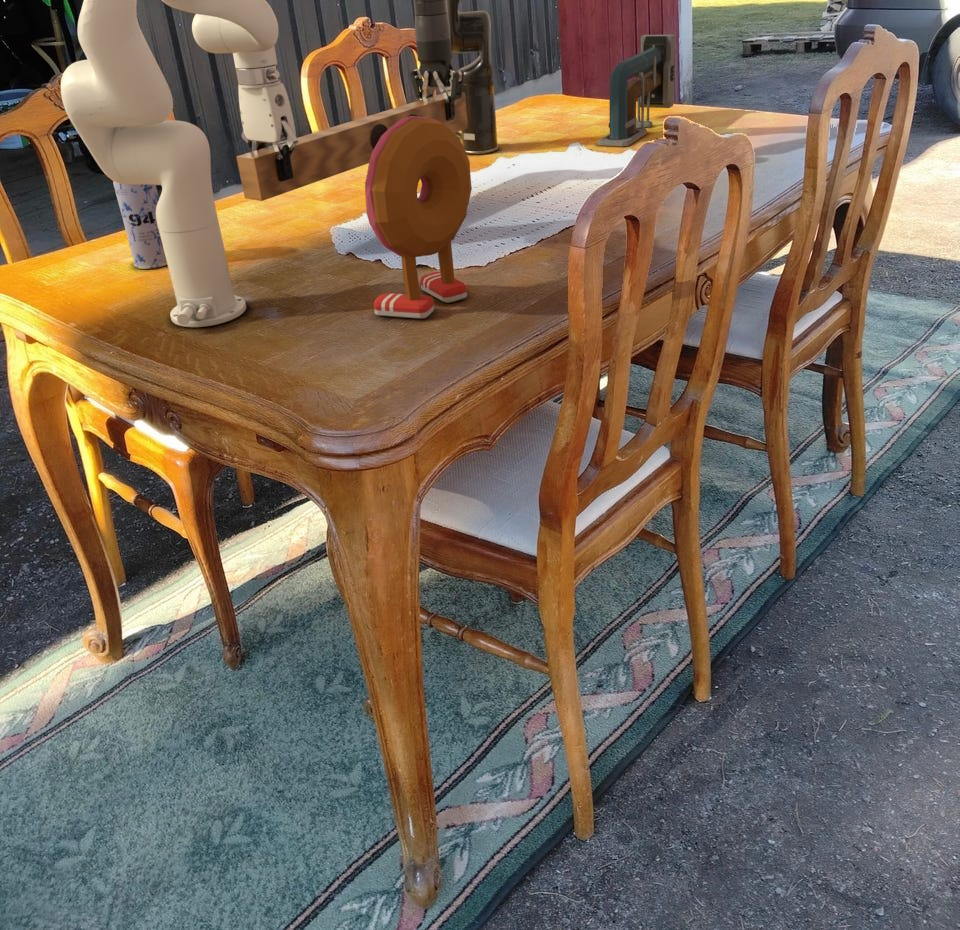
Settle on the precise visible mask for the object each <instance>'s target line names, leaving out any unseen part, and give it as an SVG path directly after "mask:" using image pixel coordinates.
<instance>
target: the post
mask: <svg viewBox="0 0 960 930" xmlns="http://www.w3.org/2000/svg"><path fill="white" fill-rule="evenodd" d="M447 93H448V92H447ZM454 104H455V117H454V119H453V120H450V121H447V120H446V115H445V101H444V98H443V95H442V93H439V94H435V95H433V96H432V97H429V98H426V99H423V100H422V99H419V100H416V101H413V102H410V103H407V104H404V105H403V104H402V105H401V106H397V107H396V106H395V107H393V108H390V109H387V110H384V111H381V112H378V113H375V114H371V115H367V116H365V117H361V118H357V119H354V120H351V121H348V122H345V123H342V124H341V123H340V124H337V125H335V126H331V127H329V128H325V129H322V130H318V131H315V132H311V133H308V134H305V135H303V136H302V135H301V136H299V137H298V136H297V139H298V143H297V144H296V146H295V147H294V150H293V151H292V156H291V157H290V159H291V165H292V171H293V178H292V179H289V180H286V181H279V178H278V172H277V166H276V160H277V159H278V158H277V156H276V153H275V150H274V147H273V144H272V145H269V146H267V147H266V148H263V149H259V150H256V151H253V152H252V151H249V152H246V153H243V154H240V155H237V156H236V162H237V167H238V171H239V176H240V180H241V187H242V190H243V191H242V192H243V196H244V199H247V200H254V201H258V202H259V201H260V202H263V201H266V200H269V199H272V198H275V197H277V196H280V195H284V194H286V193H289V192H292V191H295V190H298V189H300V188H303V187H306V186H308V185H311V184H314V183H317V182H321V181H323V180H326V179H328V178H331V177H334V176H337V175H339V174H342V173H346V172H348V171H351V170H354V169H357V168H360V167H362V166H365V165H367V164H368V165H369V162H370V158H371V154H372V151H373V148H372V146H371V144H370V133H371V130H372V129H373V127H374V126H376V125H377V124H383V125H385V126H386V127H387V128H388V129H389V128H390V127H392V126H393V125H394V124H396V123H397V122H398V121H400V120H401V119H403V118H405V117H407V116H409V115H410V114H416V115H417V116H418V117H426V118H433V119H434V120H438V121H439V122H441V123H442V124H444V125H445V126H446V127H447V128H448V129H450V130H451V131H452V132H453V133H456V132H459V133H460V132H461V130H464V129H467V128H468V123H467V111H466V98H465V92H462V97H461V98H460V99H457V100H455V102H454ZM280 148H281V149H282V148H283V145H282V144H280Z"/></svg>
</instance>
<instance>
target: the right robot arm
mask: <svg viewBox="0 0 960 930" xmlns="http://www.w3.org/2000/svg"><path fill="white" fill-rule="evenodd" d="M412 1H413V11H414V34H415V35H414V36H415V43H416V45H415V46H416V54H417V61H418V62H419V68H416V69H413V70H410V71H409V76H410V77H409V78H410V80H411V84H412V88H413V91H414V94H415V98H416V99H419V100H423V99H426V98H429V97H432V96H435V95H434V94H435V91H436V89H438V91H439V94H442V95H443V98H444V101H445V115H446V120H447V121H450V120H453V119H454V117H455V104H454V102H455V100H457V99H460V98H461V97H462V92H465V98H466V111H467V123H468V128H467V129H464V130H461V131H459V132H456V133H454V134H455V135H457V136H458V137H459V138H460V139H461V143H462V145H463V147H464V150H465V152H466V154H467V155H483V154H490V153H493V152H496V151H498V149H499V145H498V132H497V114H496V99H495V98H496V97H495V85H494V84H495V83H494V70H493V58H492V57H493V56H492V54H493V53H492V52H493V51H492V23H491V22H492V21H491V17H490V14H489V13H488V12H487V11H486V10H475V11H473V10H472V11H463V12H462V11H461V12H460V11H459V8H460V2H461V0H412ZM469 53H478V56H477V57H476V59H475V60H474V61H472V62H471V63H470V64H467V65H465V66H463V67H460V68H459V69H458V70H457V69H454V67H453V65H452V58H453V54H469ZM447 92H448V93H447Z"/></svg>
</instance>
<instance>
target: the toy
mask: <svg viewBox="0 0 960 930" xmlns="http://www.w3.org/2000/svg"><path fill="white" fill-rule="evenodd" d="M370 144H371V146H372V148H373V151H372V154H371V158H370V162H369V163H368V167H367V171H366V172H367V173H366V178H365V182H364V195H365V208H366V209H365V210H366V211H365V212H366V216H367V219H368V223H369V225H370V227H371V229H372V231H373V233H374V235H375V237H376V239H377V240H378V241H379V243H380V244H381V245H382V246H383V247H385V248H386V249H387V250H388V251H391V252H392V253H394V254H396V255H397V256H399V257H401V269H402V277H403V282H404V290H405V293H387V292H386V293H382V294H380V295H379V296H378V297H377V298H375V300H374V302H373V310H374V314H375V315H376V316H380V317H393V318H404V319H405V318H407V319H409V318H410V319H426V318H428V317H429V316H430V315H431V314H432V313H433V312H434V311H435V303H434V298H433V297H435V298H436V299H437V300H439V301H441V302H443V303H446V304H448V303H449V304H450V303H454V302H457V301H461V300H464V299H466V298H467V297H468V291H467V285H466V283H465V282H463V281H461V280H459V279H457V278H455V270H454V260H453V247H452V241H454V239H455V237H456V236H457V235H458V232H459V231H460V228H461V227H462V225H463V223H464V221H465V220H466V218H467V214H468V210H469V209H468V208H469V204H470V199H471V195H472V189H473V188H472V177H471V176H472V174H471V163H470V160H469V157H468V154H466V152H465V150H464V147H463V145H462V139H461V137H460V136H459V135H457V134H454V133H453V132H452V131H451V130H450V129H448V128H447V127H446V126H445V125H444V124H442V123H441V122H439V121H438V120H434V119H433V118H426V117H418V116H417V115H416V114H410V115H409V116H407V117H405V118H403V119H401V120H400V121H398V122H397V123H396V124H394V125H393V126H392V127H390V128H389V129H388V128H387V127H386V126H385V125H383V124H377V125H376V126H374V127H373V129H372V130H371V133H370ZM419 182H421V186H420V192H419V196H418V188H419ZM435 254H437V257H438V264H439V271H434V272H430V273H426V274H423V275H422V276H421V277H420V282H419V276H418V269H417V268H418V267H417V258H421V257H427V256H428V257H429V256H433V255H435ZM419 283H420V285H419ZM420 289H421V290H422V291H424V292H426V293H427V294H428V295H421V294H420V292H421V291H420ZM430 295H431V296H430Z"/></svg>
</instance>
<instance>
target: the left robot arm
mask: <svg viewBox="0 0 960 930" xmlns="http://www.w3.org/2000/svg"><path fill="white" fill-rule="evenodd" d="M161 2H162V3H164V4H165V5H167V6H168V7H170V8H172V9H176V10H179V11H183V12H186V13H190V14H194V17H193V19H192V23H191V32H192V36H193V38H194V41H195V43H196V44H197V45H198V46H199V48H201V49H202V50H203V51H205V52H208V53H210V54H219V55H220V54H232V57H233V62H234V68H235V73H236V78H237V79H236V80H237V84H238V103H239V104H238V105H239V112H240V120H241V126H242V132H241V139H242V140H243V141H245V143H246V144H247V146H248V148H249V149H250V151H251V152H253V151H256V150H259V149H263V148H266V147H268V144H272V145H273V147H274V150H275V153H276V156H277V158H278V159H277V160H276V166H277V172H278V178H279V181H286V180H289V179H292V178H293V171H292V165H291V159H290V157H291V156H292V151H293V150H294V147H295V146H296V144H297V143H298V139H297V138H298V136H297V131H296V125H295V120H294V115H293V110H292V106H291V102H290V100H289V96H288V92H287V90H286V87H285V85H284V83H282V82H281V74H280V70H279V69H280V68H279V65H278V59H277V53H276V47H275V45H276V44H277V42H278V39H279V31H280V30H279V24H278V19H277V17H276V14H275V13H274V10H273V9H272V7H271V5H270V4H269V3H268V1H267V0H161ZM137 3H138V0H83V1H82V5H81V9H80V13H79V15H78V20H77V39H78V42H79V44H80V47H81V49H82V51H83V53H84V55H85V57H86V59H81V60H78V61H75V62H72V63H71V64H69V65H68V66H67V67H66V69H65V70H64V71H63V73H62V76H61V80H60V96H61V101H62V105H63V108H64V110H65V113H66V115H67V117H68V118H69V120H70V122H71V124H72V126H73V128H74V129H75V130H76V132H77V134H78V136H79V137H80V138H81V140H82V141H83V144H84V145H85V146H86V148H87V150H88V151H89V153H90V154H91V156H92V158H93V160H94V161H95V163H96V164H97V166H98V167H99V168H100V170H101V171H102V172H103V173H104V175H105V176H106V177H107V178H109V179H110V180H111V181H112V182H113V181H115V182H117V183H120V184H128V185H149V184H153V185H156V186H161V193H160V196H159V201H158V203H157V207H156V221H157V225H158V229H159V232H160V236H161V240H162V244H163V248H164V252H165V256H166V260H167V269H168V273H169V276H170V280H171V284H172V289H173V293H174V295H175V300H176V301H175V302H176V304H177V305H176V306H174V307H173V308H172V310H171V311H170V313H169V315H170V316H169V317H170V320H171V322H172V323H173V324H174V325H176V326H179V327H182V328H183V327H184V328H205V327H213V326H217V325H221V324H224V323H228V322H230V321H233V320H235V319H237V318H238V317H240V316H241V315H243V314H244V313H245V311H246V310H247V303H246V300H245V299H244V298H243V297H241V296H239V295H236V294H235V292H234V291H235V290H234V287H233V281H232V278H231V273H230V268H229V264H228V260H227V255H226V249H225V245H224V241H223V240H224V239H223V236H222V232H221V226H220V223H219V222H220V221H219V217H218V213H217V207H216V202H215V198H214V191H213V184H212V183H213V182H212V168H211V167H212V165H211V164H212V163H211V162H212V160H211V149H210V144H209V141H208V138H207V135H205V134H206V133H204V131H202V130H201V128H199V127H198V126H197V125H195V124H193V123H191V122H188V121H184V120H177V119H176V120H175V119H169V117H170V116H171V114H172V112H173V109H174V99H173V95H172V91H171V88H170V86H169V84H168V82H167V79H166V78H165V75H164V74H163V72H162V70H161V67H160V66H159V64H158V62H157V60H156V58H155V56H154V54H153V51H152V50H151V48H150V46H149V44H148V42H147V40H146V37H145V36H144V34H143V31H142V29H141V27H140V24H139V19H138V13H137V12H138V11H137V7H138V6H137ZM280 144H282V145H283V148H282V149H281V148H280Z"/></svg>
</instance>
